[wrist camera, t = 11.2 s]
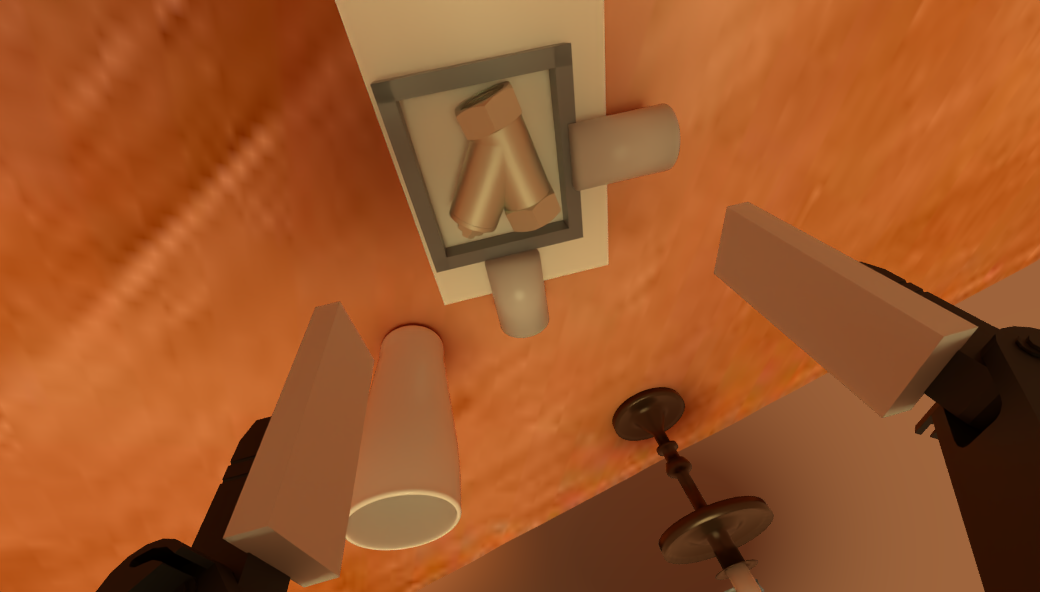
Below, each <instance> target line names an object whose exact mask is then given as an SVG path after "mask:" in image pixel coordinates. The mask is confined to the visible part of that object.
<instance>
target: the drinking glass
mask: <svg viewBox="0 0 1040 592" xmlns="http://www.w3.org/2000/svg"><path fill="white" fill-rule="evenodd" d="M460 517H461V474H460V460H459V451H458V443H457V436H456V429H455V423H454V417H453V411H452V406H451V399H450V393H449V387H448V381H447V375H446V368H445V361H444V346H443V343H442V340H441V339H440V337H439V336H438V335H437V334H436V333H435V332H434V331H432V330H431V329H429V328H426V327H423V326H417V325H408V326H403V327H399V328H397V329H395V330H393V331H392V332H390V333H389V334H388V335H387V336H386V337H385V338H384V340H383V342H382V344H381V348H380V353H379V359H378V363H377V367H376V371H375V374H374V378H373V381H372V385H371V388H370V392H369V396H368V402H367V409H366V415H365V421H364V427H363V434H362V440H361V446H360V452H359V458H358V465H357V471H356V477H355V483H354V489H353V496H352V502H351V508H350V514H349V520H348V527H347V533H346V540H348V541H349V542H351V543H352V544H354V545H357V546H360V547H363V548H367V549H374V550H399V549H406V548H412V547H416V546H420V545H423V544H426V543H429V542H432V541H434V540H436V539H438V538H440V537H442V536H444V535H445V534H447V533H448V532H449V531H451V530H452V529H453V528H454V527H455V526H456V525H457V523H458V522H459V520H460Z"/></svg>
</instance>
